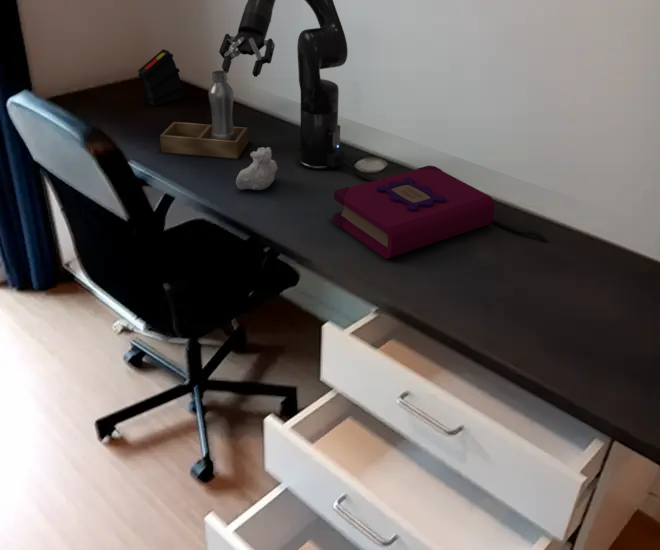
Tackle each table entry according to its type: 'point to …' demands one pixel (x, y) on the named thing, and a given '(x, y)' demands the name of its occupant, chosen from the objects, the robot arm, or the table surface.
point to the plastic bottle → (221, 107)
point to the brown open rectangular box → (201, 141)
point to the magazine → (161, 79)
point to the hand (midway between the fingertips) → (239, 73)
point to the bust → (258, 171)
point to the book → (411, 210)
